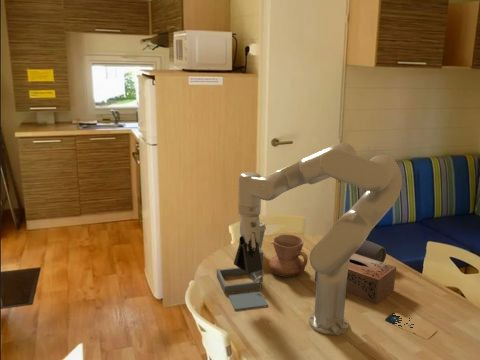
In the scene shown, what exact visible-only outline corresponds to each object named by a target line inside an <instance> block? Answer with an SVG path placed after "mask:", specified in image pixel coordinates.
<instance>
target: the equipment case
mask: <svg viewBox="0 0 480 360" xmlns="http://www.w3.org/2000/svg"><path fill="white" fill-rule="evenodd" d="M259 251H260V257H261V263H262V270H259V271H256V272H253V273H250V274H247V273H246V272H244V271H243V270H241V269H240V268H239V267H231V268H230V267H229V268H223V269H222V268H221V269H219V268H218V269H216V279H217V280H218V282H219V285H220V287H221V290H222V291H223V294H224V295H226V294H227V295H229V294H237V293H246V292H254V291H261V290H262V283H263V282H264V255H265V253H264V250H262V248H261V249H260V247H259ZM244 275H245V276H247V275H248V276H250V279H251V280H252V281H249V282H242V283H241V282H240V283H233V284H232V283H231V284H227V283H226V281H225V279H224V278H228V277H235V276H236V277H237V276H244Z"/></svg>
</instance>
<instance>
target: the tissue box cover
mask: <svg viewBox="0 0 480 360" xmlns="http://www.w3.org/2000/svg"><path fill="white" fill-rule="evenodd" d="M314 273H315V274H314V275H315V276H314V282H316V280H317V271H315V272H314ZM396 274H397V266H395V265H392V264H389V263H385V262H380V261H377V260H374V259H371V258H367V257H364V256H361V255H358V254H355V253H354V254H353V255H352V256H351V257H350V261H349V267H348V276H347V286H346V295H350V296H353V297H355V298H358V299H360V300H363V301H365V302H368V303H370V304H373V305H374V306H375V305H376V306H377V305H378V304H379V303H381V301H383V300H384V299H385V298H386V297H387V295H388V296H389V295H391V293H393V292H394V291H393V290H395V285H396V283H395V282H396Z"/></svg>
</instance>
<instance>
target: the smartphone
mask: <svg viewBox="0 0 480 360" xmlns="http://www.w3.org/2000/svg"><path fill="white" fill-rule="evenodd" d="M393 314H395V313H394V312H393V313H391V314H390V315H389V316H387V317H385V319H384V321H385V322H386V321H387V323H388V322H389V324H391V323H392V324H391V325H393V324H397V323H395V322H398V323H401V322H399V321H402V320H399V319H402V318H399V317H400V316H396V315H393ZM409 319H410V317H409ZM396 320H397V321H396ZM409 321H410V320H409ZM406 324H408V323H406ZM404 325H405V324H404ZM411 325H414V324H411ZM411 325H408V326H411ZM398 326H401V325H398ZM401 327H402V326H401ZM410 328H413V327H410Z"/></svg>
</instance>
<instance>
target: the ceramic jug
mask: <svg viewBox="0 0 480 360" xmlns="http://www.w3.org/2000/svg"><path fill="white" fill-rule="evenodd" d="M270 244H271V245H273V247H274V251H275V254H276V255H275V256H273V257H271V259H270V260H269V263H268V266H269V269H270V271H272V272H273V273H274V274H276V275H277V276H280V277H286V278H288V277H297V276H299V275H301V274H303V272H304V271H305V269H306V267H307V264H308V260H309V259H308V255H307V253H305V252H303V251H302V250H303V246H304V239H303V238H302V237H300V236H298V235H296V234H290V233H289V234H287V233H285V234H279V235H275V236H274V237H273V239H272V241H271V242H270ZM300 256H302V258H303V259H302V258H301V257H300Z"/></svg>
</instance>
